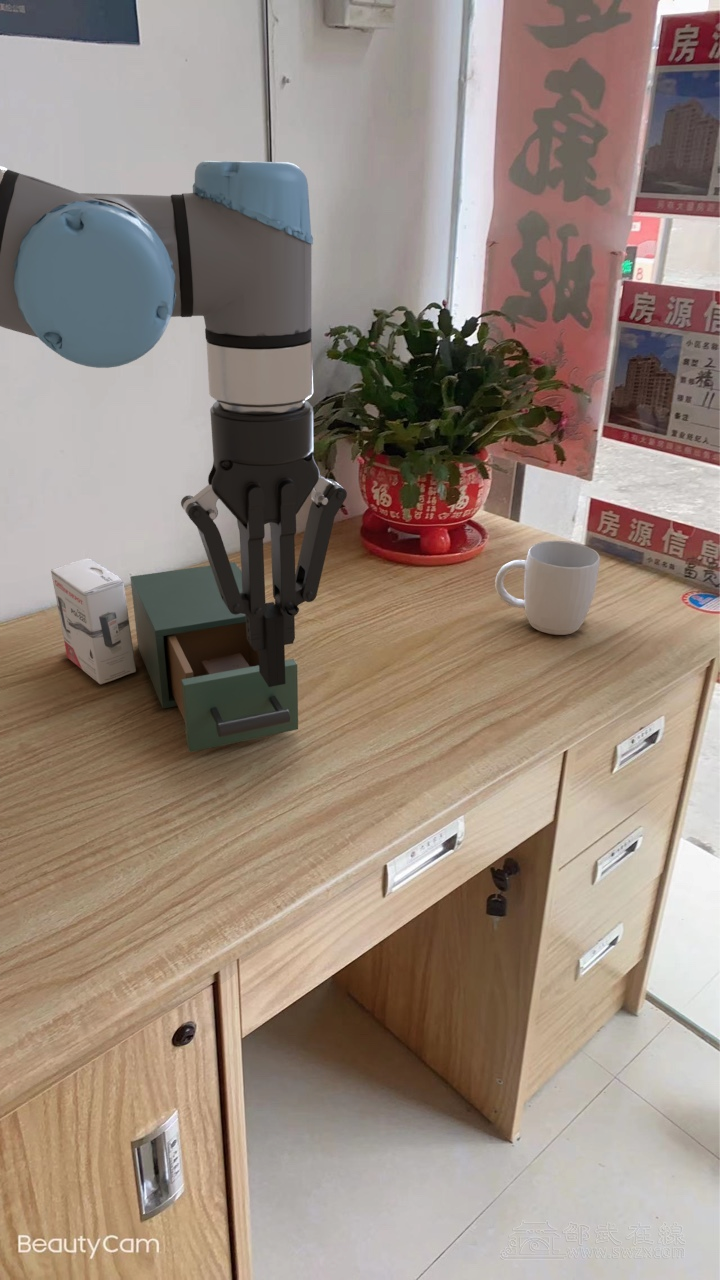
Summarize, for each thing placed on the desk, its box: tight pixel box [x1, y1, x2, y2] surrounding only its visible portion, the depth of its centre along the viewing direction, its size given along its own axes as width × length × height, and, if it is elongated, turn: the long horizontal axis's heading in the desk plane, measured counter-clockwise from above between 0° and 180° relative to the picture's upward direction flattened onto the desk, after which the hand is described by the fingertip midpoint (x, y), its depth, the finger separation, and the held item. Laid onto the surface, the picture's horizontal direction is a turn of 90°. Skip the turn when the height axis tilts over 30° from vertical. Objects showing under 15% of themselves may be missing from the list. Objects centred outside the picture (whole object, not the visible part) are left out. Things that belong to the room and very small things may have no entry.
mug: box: [494, 540, 601, 636], centre depth 114 cm, size 13×9×10 cm
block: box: [201, 653, 250, 676], centre depth 92 cm, size 4×4×4 cm
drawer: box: [163, 622, 299, 753], centre depth 91 cm, size 18×11×8 cm, turn 23°
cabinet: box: [129, 561, 246, 709], centre depth 102 cm, size 15×13×10 cm
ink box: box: [50, 558, 137, 685], centre depth 101 cm, size 9×5×12 cm, turn 43°
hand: (272, 677), depth 76 cm, fingers closed
